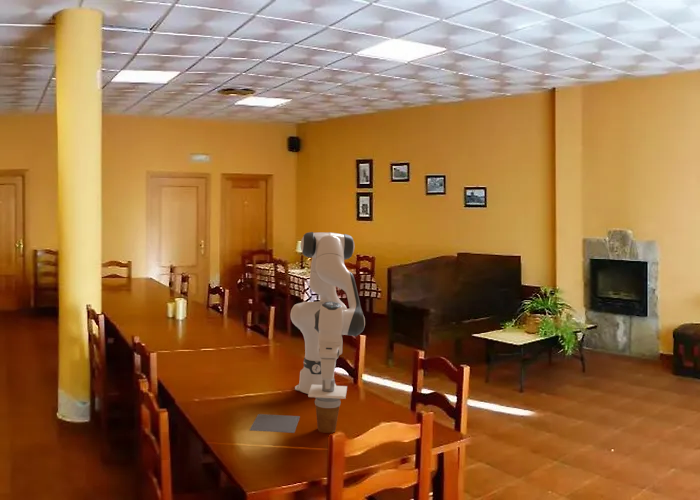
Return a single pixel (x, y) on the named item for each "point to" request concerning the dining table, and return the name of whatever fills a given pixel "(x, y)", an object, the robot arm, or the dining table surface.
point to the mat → (275, 423)
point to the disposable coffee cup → (327, 413)
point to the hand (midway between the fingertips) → (328, 386)
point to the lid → (328, 391)
